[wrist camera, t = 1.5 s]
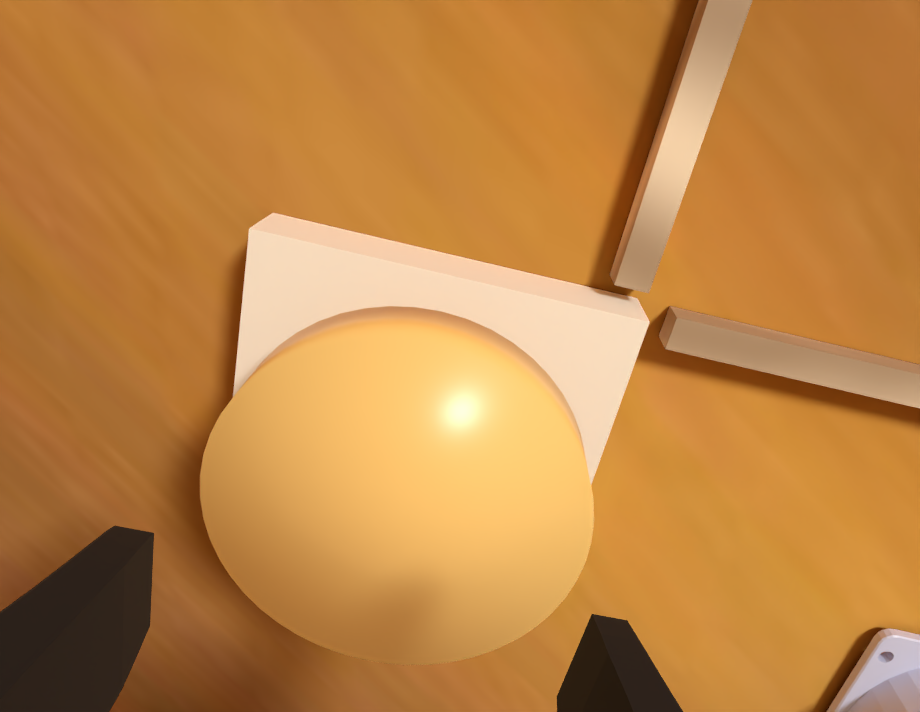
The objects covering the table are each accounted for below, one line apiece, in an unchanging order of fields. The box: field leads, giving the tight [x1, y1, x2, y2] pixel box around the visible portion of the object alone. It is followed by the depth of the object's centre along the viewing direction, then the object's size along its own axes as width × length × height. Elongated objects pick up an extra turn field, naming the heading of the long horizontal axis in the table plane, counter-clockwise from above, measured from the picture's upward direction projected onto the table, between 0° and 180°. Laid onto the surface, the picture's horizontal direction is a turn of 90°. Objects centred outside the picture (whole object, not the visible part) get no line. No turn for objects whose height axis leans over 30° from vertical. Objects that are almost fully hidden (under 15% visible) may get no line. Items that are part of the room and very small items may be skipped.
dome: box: [200, 306, 594, 665], centre depth 19 cm, size 10×10×4 cm
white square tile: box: [233, 213, 650, 484], centre depth 22 cm, size 11×11×2 cm
